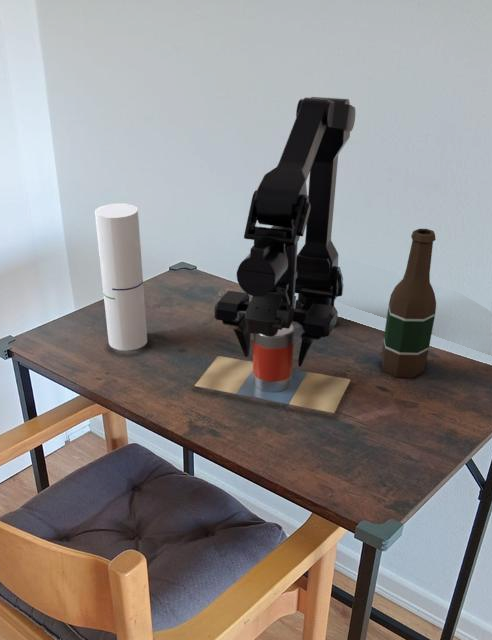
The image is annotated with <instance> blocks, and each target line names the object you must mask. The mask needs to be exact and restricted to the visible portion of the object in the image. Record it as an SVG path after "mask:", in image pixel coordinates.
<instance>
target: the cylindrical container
mask: <svg viewBox="0 0 492 640" xmlns="http://www.w3.org/2000/svg"><path fill="white" fill-rule="evenodd" d="M94 218H95V228H96V237H97V238H96V239H97V247H98V255H99V256H98V257H99V265H100V274H101V275H100V276H101V282H102V292H103V302H104V303H103V304H104V310H105V311H104V312H105V321H106V329H107V331H106V332H107V339H108V345H109V346H110V347H111V349H114V350H116V351H117V350H118V351H122V352H123V351H125V352H127V351H135V350H138V349H141V348H143V347H145V346H146V345H147V344H148V332H147V331H148V330H147V316H146V304H145V289H144V276H143V275H144V274H143V261H142V260H143V259H142V247H141V237H140V235H141V233H140V220H139V219H140V218H139V208H138V207H137V206H136V205H134V204H130V203H123V202H122V203H119V202H118V203H108V204H103V205H101V206H98V207H96V209H94Z"/></svg>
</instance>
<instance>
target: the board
mask: <svg viewBox="0 0 492 640" xmlns="http://www.w3.org/2000/svg"><path fill="white" fill-rule="evenodd" d="M351 380H352V379H350V378H345V377H339V376H334V375H328V374H327V375H326V374H323V373H318V372H317V373H316V372H311V371H306V370H301V369H300V370H299V369H296V368H295V369H294V368H292V375H291V385H290V386H289V387H288V388H287V389H285V390H283V391H279V392H266V391H262V390H259V389H257V388H256V387H255V386H254V384H253V361H251V360H250V361H249V360H244V359H239V358H233V357H228V356H221V355H218V356H217V357H216V358H215V359H214V360H213V362H212V363H211V364H210V365H209V367H207V369H206V370H205V372H204V373H202V375H201V376H200V378H199V379H198V381H197V382H196V383H195V384H194V387H198V388H202V389H208V390H214V391H219V392H224V393H228V394H234V395H238V396H239V395H240V396H244V397H250V398H254V399H260V400H266V401H271V402H275V403H280V404H285V405H291V406H295V407H301V408H306V409H311V410H317V411H321V412H326V413H332V414H335V413H336V411H337V409H338V407H339V405H340V402H341V400H342V399H343V396H344V395H345V392H346V391H347V389H348V387H349V384H350V383H351Z"/></svg>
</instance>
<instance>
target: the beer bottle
mask: <svg viewBox="0 0 492 640" xmlns="http://www.w3.org/2000/svg"><path fill="white" fill-rule="evenodd" d="M410 237H411V246H410V250H409V254H408V259H407V264H406V269H405V271H404V275H403V277H402V279H400V281H399V282H398V283H397V284H396V285H395V287H394V288H393V291H391V294H390V297H389V301H388V305H387V307H388V308H387V314H386V321H385V328H384V335H383V342H382V350H381V358H380V361H381V366H382V370H383V372H384V373H386V374H388V375H391V376H393V377H395V378H411V379H412V378H415V377H416V376H419V375H421V374H422V373H424V371H425V369H426V364H427V361H428V355H429V349H430V345H431V339H432V334H433V328H434V323H435V319H436V310H437V300H436V295H435V292H434V289H433V285H432V284H431V281H430V280H431V275H430V274H431V265H432V264H431V263H432V255H433V246H434V242H435V241H436V233H435V231H434V230H433V229H429V228H418V229H415V230H413V231H412V233H411V235H410Z"/></svg>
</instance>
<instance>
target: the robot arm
mask: <svg viewBox="0 0 492 640" xmlns="http://www.w3.org/2000/svg"><path fill="white" fill-rule="evenodd" d="M295 111H296V113H295V120H294V122H293V125H292V128H291V130H290V133H289V135H288V138H287V141H286V144H285V146H284V148H283V151H282V153H281V156H280V159H279V161H278V163H277V165H276V167H275V168H273V169H271V170H270V171H268V172H266V173H265V174H264V175H263V177H262V178H261V181H260V182H259V184H258V186H257V188H256V189H255V190H254V192H253V194H252V197H251V201H250V206H249V211H248V215H247V219H246V225H245V229H244V234H243V239H245V240H250V241H251V240H252V241H253V245H252V247H251V248H250V252H249V254H248V255H247V256H246V257H244V259H243V260H242V261H241V262H240V264H239V265H238V268H237V271H236V281H237V283H238V285H239V287H240V289H242V291H244V292H241V291H236V290H235V291H233V290H227V291H226V292H225V293H224V294H222V296H221V297H220V298H219V299H218V300H217V301H216V303H215V305H214V311H213V312H214V319H215V320H216V321H221V322H222V324H223V325H224V326H227V327H229V328H230V329H232V330H233V332H234V334H235V336H236V338H237V341H238V343H239V345H240V348H241V350H242V353H243V356H244V357H245V358H248V357H249V356H250V352H251V335H254V334H255V333H256V334H262V335H266V336H269V337H271V336H275V335H276V334H277V332H278V330H282V328H287V329H289V328H290V326H291V324H293V323H294V322H295V323H298V324H299V325H300V326H301V327H302V329H303V331H302V333H301V335H300V338H301V342H300V348H299V353H298V359H297V360H298V363H297V364H298V365H297V366H298V367H300V368H301V367H302V366H303V364H304V361H305V359H306V357H307V355H308V353H309V351H310V348H311V346H312V344H313V342H314V340H315V341H318V340H321V339H322V338H326V337H329V336H330V335H331V333H332V331H333V329H334V328H335V326H336V325H338V313H339V311H338V310H337V308H336V307H335V300H336V299H337V298H338V297H342V296H343V292H344V276H343V273H342V270H341V266H339V252H338V251H337V249H336V246H335V245H334V243H333V241H332V231H333V220H334V219H333V218H334V209H335V198H336V185H337V173H338V163H339V154H340V153H341V151H342V150H343V148H344V147H345V145H346V144H347V143H348V141H349V140H350V137H351V132H352V131H353V129H354V126H355V121H356V113H357V112H356V107H355V106H353V105H352V104H350V99H348V98H338V97H337V98H336V97H320V96H311V97H304V98H300V99H299V100H298V102H297V106H296V110H295ZM308 179H309V181H308V188H307V180H308ZM257 223H258V224H259V225H262V226H256V225H257ZM263 225H265V226H271V227H265V226H263ZM304 234H305V239H304V245H303V246H302V247H301V249H300V250H299V252H298V247H299V246H298V243H299V241H300V238H301V237H304ZM296 294H297V295H298V296H296ZM250 296H252V297H251V299H250Z"/></svg>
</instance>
